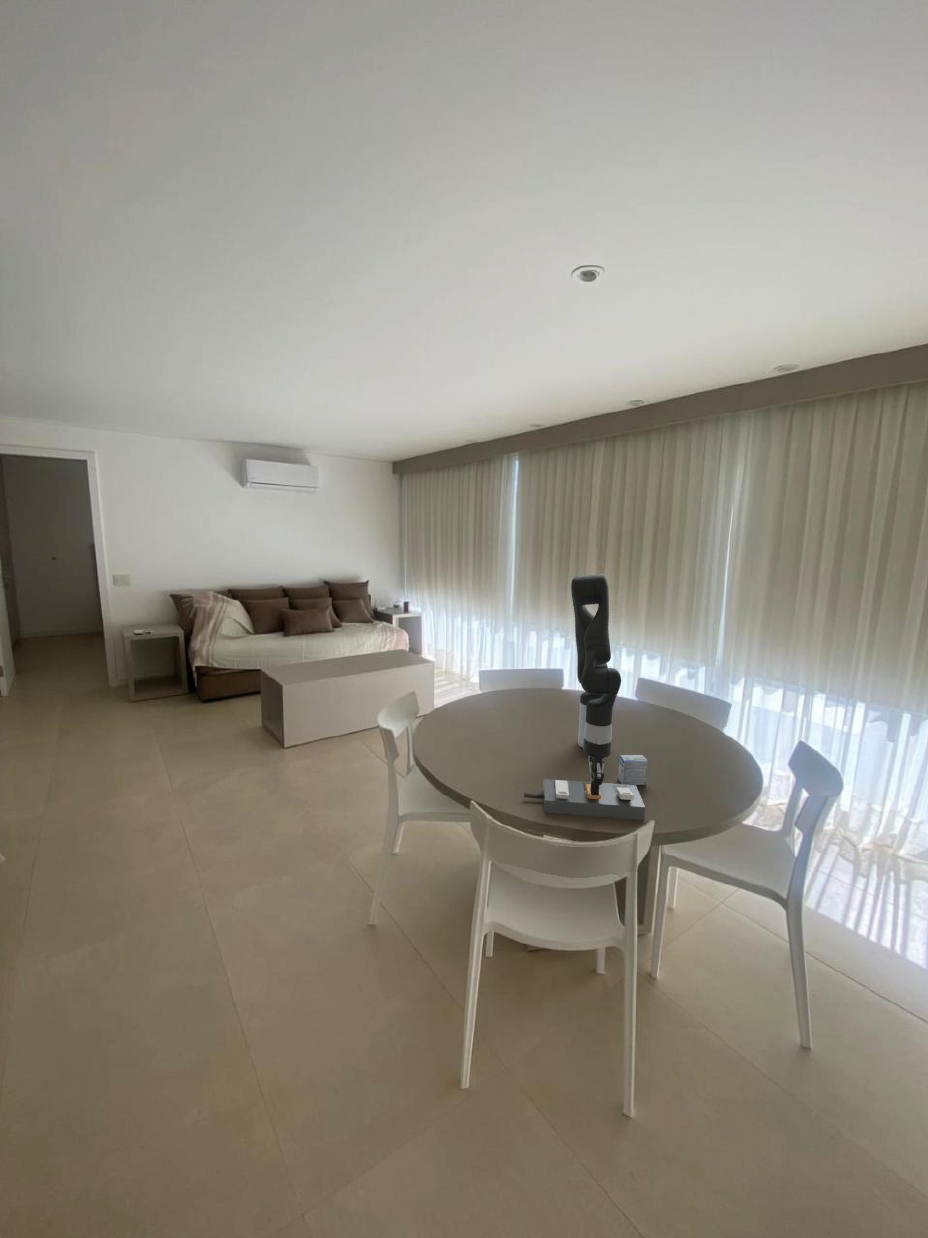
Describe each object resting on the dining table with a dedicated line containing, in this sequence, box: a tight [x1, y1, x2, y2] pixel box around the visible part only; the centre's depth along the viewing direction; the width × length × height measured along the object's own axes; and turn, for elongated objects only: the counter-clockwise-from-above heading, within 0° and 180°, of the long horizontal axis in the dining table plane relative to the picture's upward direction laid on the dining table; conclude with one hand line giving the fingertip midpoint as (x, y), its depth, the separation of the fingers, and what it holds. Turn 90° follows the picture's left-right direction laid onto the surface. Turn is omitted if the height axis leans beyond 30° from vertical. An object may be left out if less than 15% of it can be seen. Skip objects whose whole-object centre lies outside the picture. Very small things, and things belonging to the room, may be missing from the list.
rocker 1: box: [554, 779, 569, 799], centre depth 141 cm, size 6×4×2 cm, turn 173°
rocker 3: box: [616, 787, 634, 800], centre depth 139 cm, size 6×4×2 cm, turn 173°
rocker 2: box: [586, 784, 601, 799], centre depth 140 cm, size 6×4×2 cm, turn 173°
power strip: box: [523, 778, 646, 821], centre depth 144 cm, size 12×34×5 cm, turn 83°
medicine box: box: [617, 754, 649, 786], centre depth 156 cm, size 8×4×9 cm, turn 92°
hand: (594, 794), depth 137 cm, fingers closed
